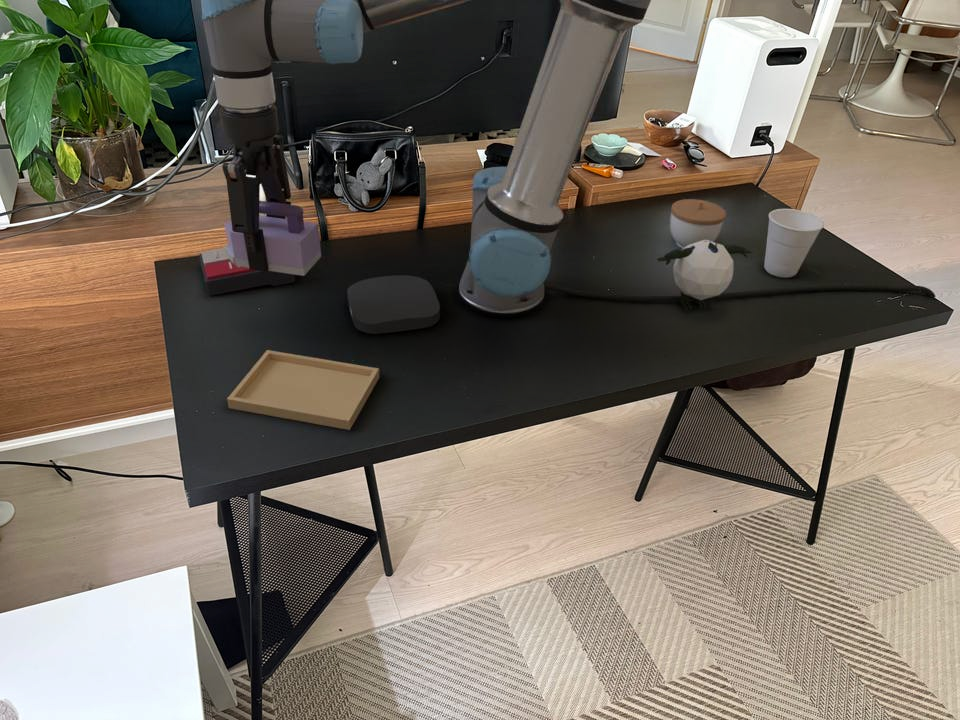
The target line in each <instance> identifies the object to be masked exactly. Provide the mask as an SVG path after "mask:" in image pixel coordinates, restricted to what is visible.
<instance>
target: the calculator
mask: <svg viewBox="0 0 960 720" xmlns="http://www.w3.org/2000/svg"><path fill="white" fill-rule="evenodd" d="M198 257H199V260H200V266H201V270H202V275H203V280H204V285H205V288H206V292H207V295H208V296H209V297H212V296H217V295H223V294H227V293H231V292H237V291H238V292H239V291H242V290H247V289H252V288H258V287H262V286H267V285H270V286H273V287H277V286H282V285H288V284H293V283H295V282H296V277H295V275H294V274H288V273H281V272H274V271H267V272H265V271H258V270H251V269H249V268H247V267H241V266H236V264H233V263H232V262H231V260H230V259H229V257H228V256H227V255H226V253H225V248H224V247H221V248H216V249H209V250H204V251H202V252H201V253H199V256H198Z"/></svg>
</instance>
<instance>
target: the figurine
mask: <svg viewBox="0 0 960 720" xmlns="http://www.w3.org/2000/svg"><path fill="white" fill-rule="evenodd" d="M753 253H754V251H751V250H750V249H747V248H746V247H744V246H742V245H739V244H734V243H731V244H721V243H719V241H718V240H716V242H715V241H714V242H711V241H708V240H702V241H699V242H696V243H692V244H690V245H687V246H686V247H685V248H684V249H683V248H681V249H680V248H675V249H672V250H669V252H667V253H665V254H664V255H663V256H660V257H658V258H656V260H657V261H658V262H665V265H666V266H668V265H669V264H670V263H671V262H672V260H675V261H674V262H673V263H674V264H673V266H672V274H673V279H674V282H675V285H676V286H677V288H678V289H679V290H680V296H681V301H679V303H680V305H681V306H682V309H683V310H684V311H692V310H693V307H692V305H691V303H689V302H690V301H689V299H690V296H691V297H694V298H696V299H695V300H693V301H694V303H695V304H696V306H697V307H698V308H699V309H707V308H708V306H707V304H706V303H705V301H704V300H703V299H707V298H710V297H714V296H718V295H720V294H721V293H724V291H726V289H728V288H729V286H730V284H731V282H732V280H733V275H734V260H733V258H732V256H731V255H735V254H740V255H742V256H743V257H744V258H745V257H746V258H748V257H749V256H748V254H753Z"/></svg>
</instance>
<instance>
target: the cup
mask: <svg viewBox="0 0 960 720" xmlns="http://www.w3.org/2000/svg"><path fill="white" fill-rule="evenodd" d="M824 227H825V224H824V221H823V220H822V219H821V218H820V217H819V216H818V215H815V214H813V213H812V212H811V213H810V212H807V211H804V210H800V209H796V208H795V209H794V208H776V209H774V210H772V211H770V212H769V213H768V227H767V236H766V237H767V238H766V244H765V245H766V247H765V253H764V255H765V256H764V263H763V268H764V270H765V271H766V272H767V273H768V274H769V275H772V276H774V277H776V278H777V277H778V278H784V279H785V278H786V279H787V278H792V277H794V276H796V275H797V274H798V272H799V270H800V268H801V267H802V265H803V262H805V259H806V257H807V255H808V254H809V252H810V250H811V248H812V246H813V244H814V243H815V241H816V239H817V238H818V236H819V234H820V232H821V230H822V229H823V228H824Z"/></svg>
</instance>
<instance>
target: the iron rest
mask: <svg viewBox="0 0 960 720" xmlns="http://www.w3.org/2000/svg"><path fill="white" fill-rule="evenodd" d="M379 379H380V368H378V367H372V366H367V365H359V364H354V363H347V362H342V361H335V360H331V359H324V358H318V357H312V356H306V355H300V354H294V353H287V352H281V351H275V350H271V349H267V350H266V351H265V352H264V353H263V354H262V356H260V358H259V359H258V360H257V362H256V363H255V364H254V365H253V366H252V368H251V369H250V370H249V371H248V372H247V374H246V375H245V376H244V378H243V379H242V380H241V381H240V382H239V384H238V385H237V386H236V387H235V389H233V391H232V392H231V393H230V395H228V397H227V398H226V401H227V405H228V409H231V410H237V411H242V412H249V413H253V414H257V415H258V414H259V415H263V416H269V417H270V416H271V417H276V418H281V419H286V420H292V421H297V422H304V423H308V424H314V425H319V426H324V427H329V428H337V429H342V430H347V431H351V429H352V427H353V425H354V423H355V422H356V420H357V418H358V416H359V415H360V413H361V411H362V409H363V408H364V406H365V404H366V402H367V401H368V398H370V395H371V393H372V391H373V390H374V388H375V386H376V384H377V383H378V381H379Z"/></svg>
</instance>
